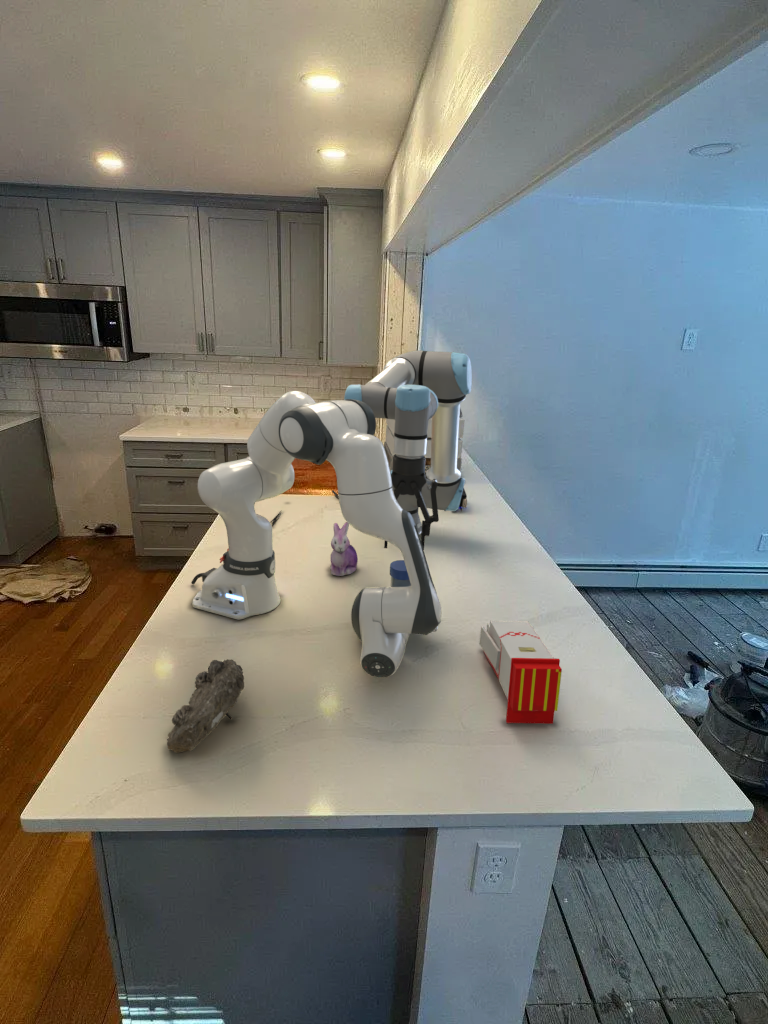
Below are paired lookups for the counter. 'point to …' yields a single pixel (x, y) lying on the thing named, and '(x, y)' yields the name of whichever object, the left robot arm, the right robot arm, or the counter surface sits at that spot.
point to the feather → (275, 519)
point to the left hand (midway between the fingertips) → (401, 598)
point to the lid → (399, 570)
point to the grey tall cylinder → (400, 583)
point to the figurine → (342, 552)
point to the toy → (523, 670)
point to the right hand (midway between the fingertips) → (404, 546)
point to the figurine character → (463, 500)
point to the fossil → (206, 705)
